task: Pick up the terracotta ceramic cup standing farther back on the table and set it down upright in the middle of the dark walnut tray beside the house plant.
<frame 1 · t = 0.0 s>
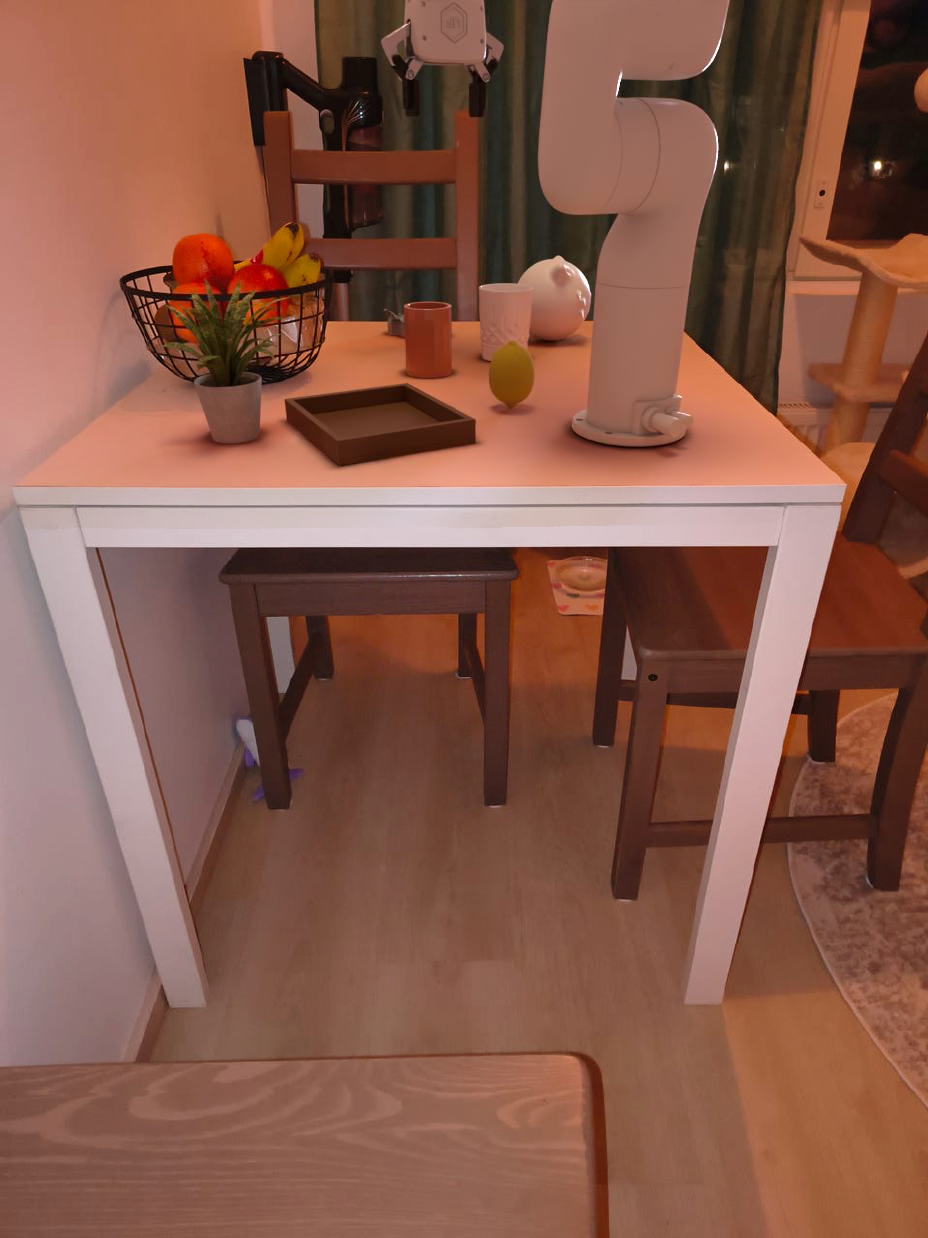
hand: (445, 116, 112), 31 cm above the table, tool pointing down, fingers open, 9 cm apart
house plant: (238, 441, 91), on the table
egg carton: (418, 335, 140), on the table
white cup: (504, 359, 125), on the table
lemon: (510, 409, 101), on the table
tray: (377, 431, 93), on the table
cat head: (548, 341, 136), on the table
cup: (429, 372, 117), on the table
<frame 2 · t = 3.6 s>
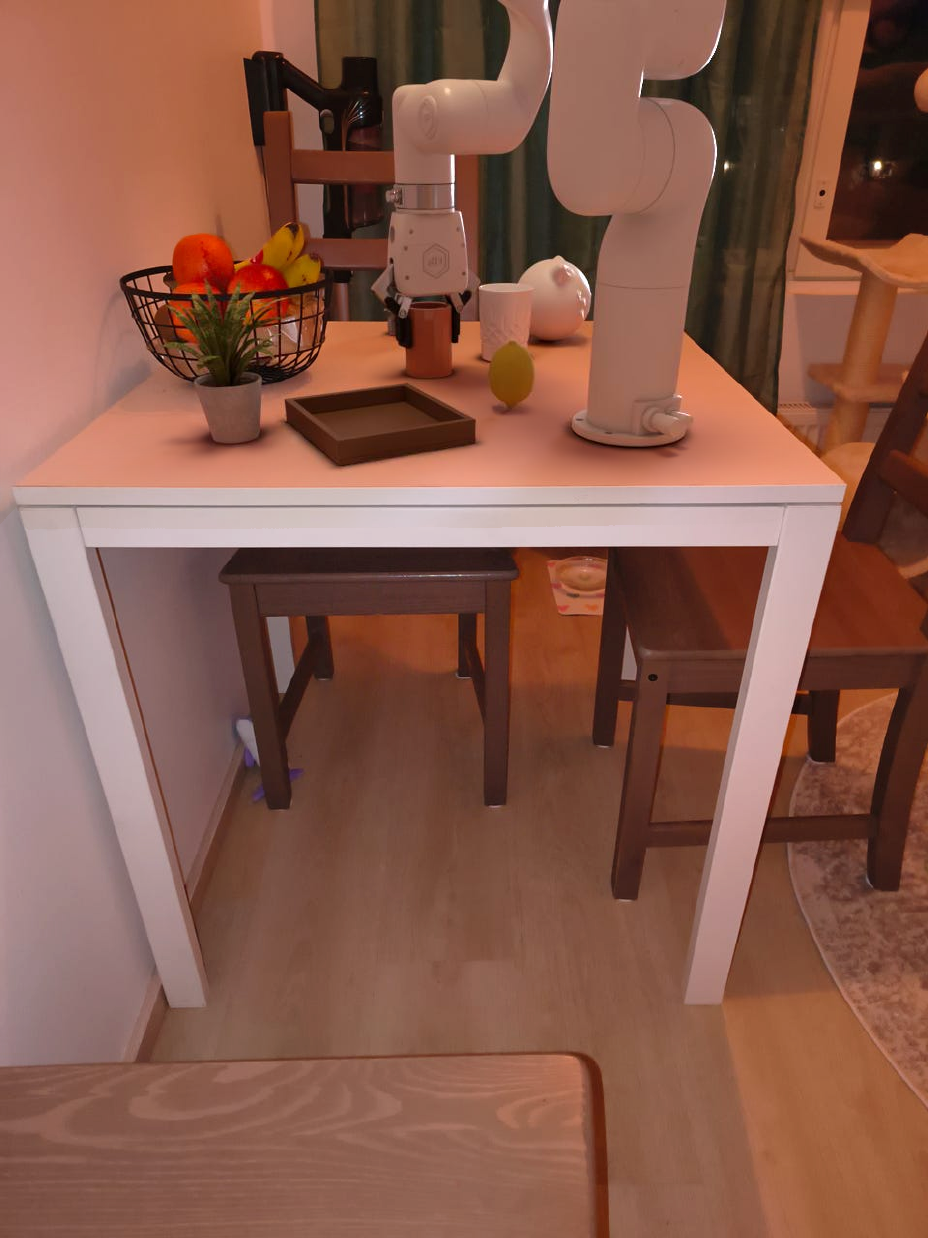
hand: (428, 342, 115), 4 cm above the table, tool pointing down, fingers closed on cup, 6 cm apart
cup: (429, 372, 117), on the table, touching gripper
everything else where it was.
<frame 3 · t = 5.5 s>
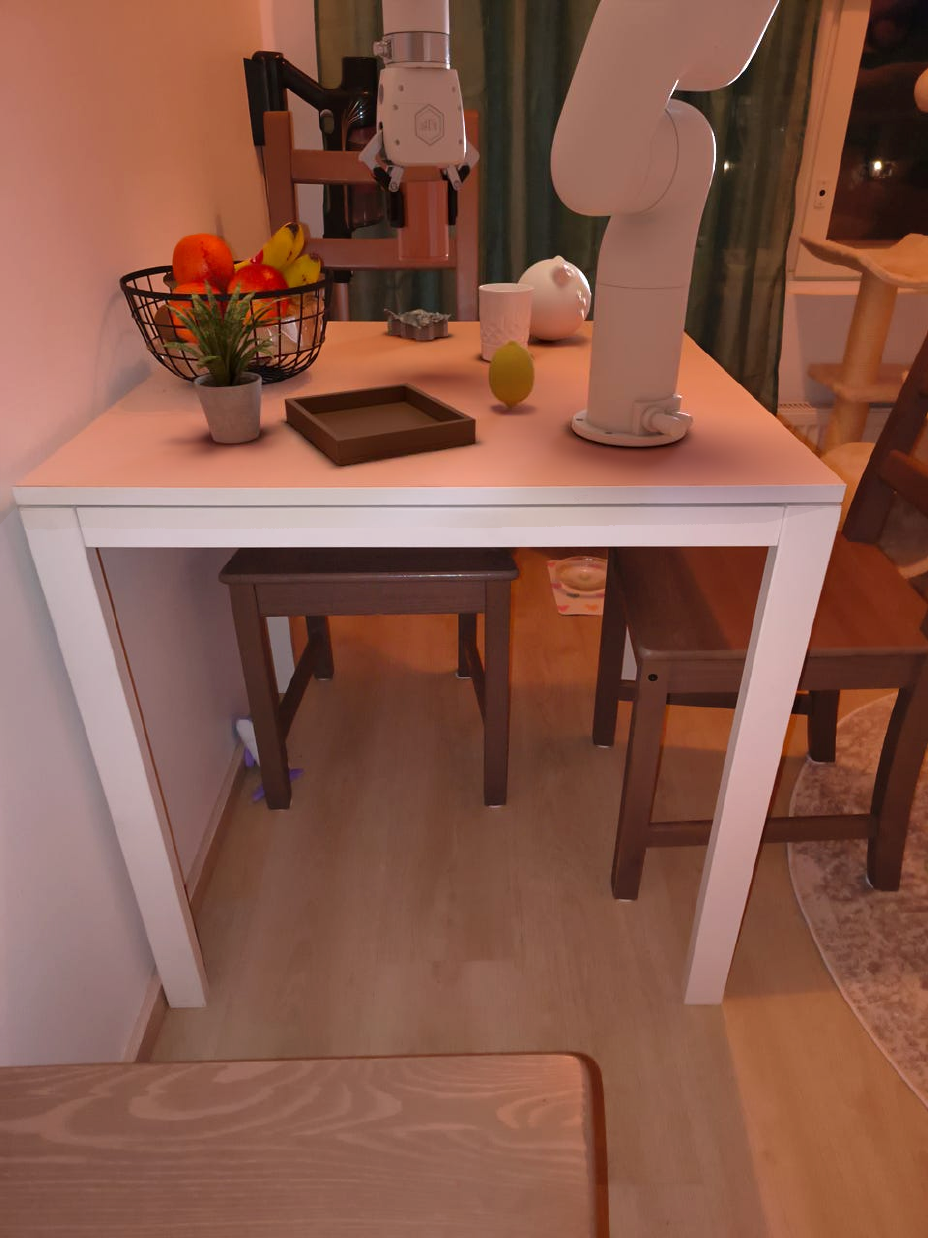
hand: (422, 224, 105), 19 cm above the table, tool pointing down, fingers closed on cup, 6 cm apart
cup: (424, 259, 107), point 15 cm above the table, touching gripper
everything else where it was.
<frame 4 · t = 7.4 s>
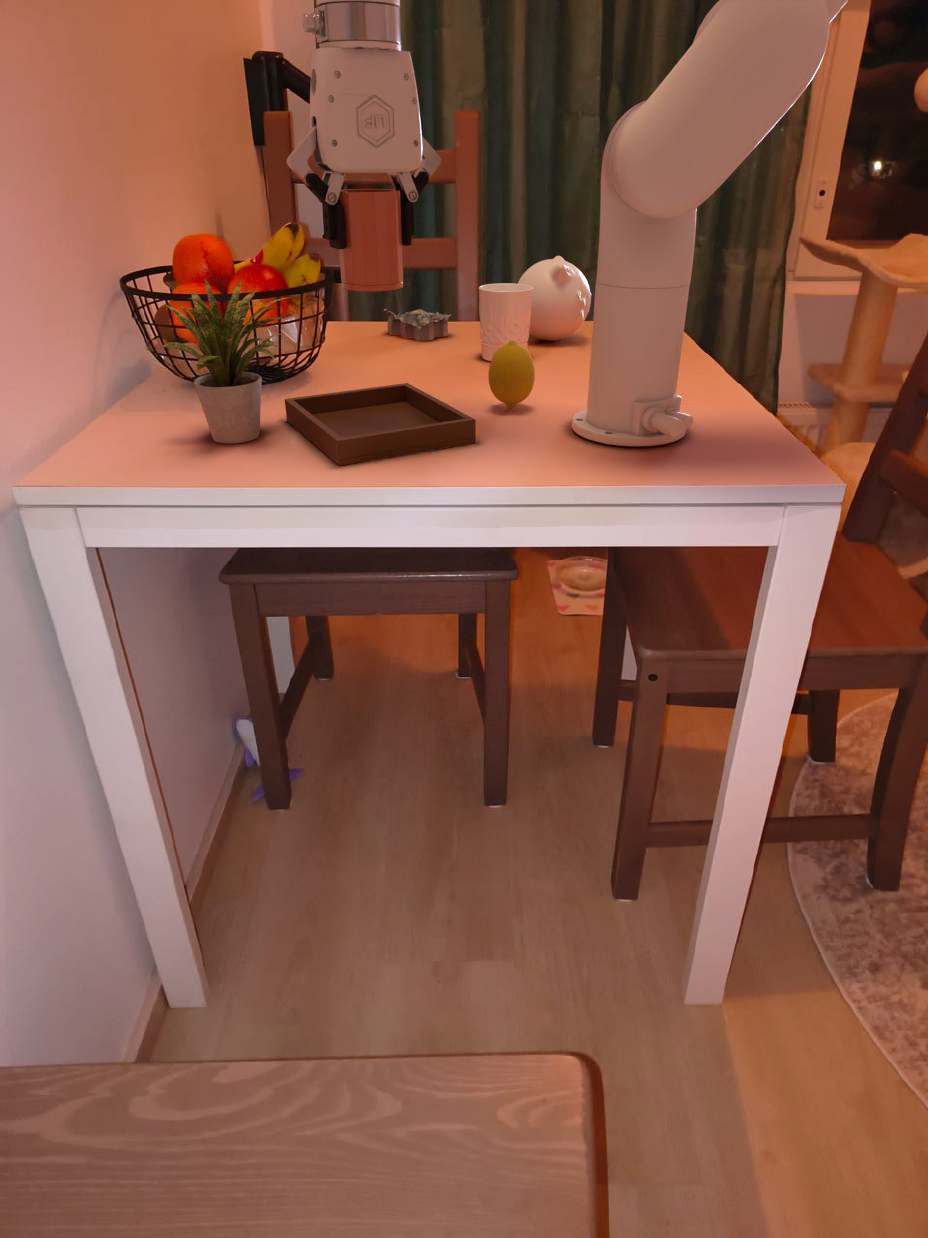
hand: (370, 244, 85), 19 cm above the table, tool pointing down, fingers closed on cup, 6 cm apart
cup: (372, 286, 87), point 15 cm above the table, touching gripper
everything else where it was.
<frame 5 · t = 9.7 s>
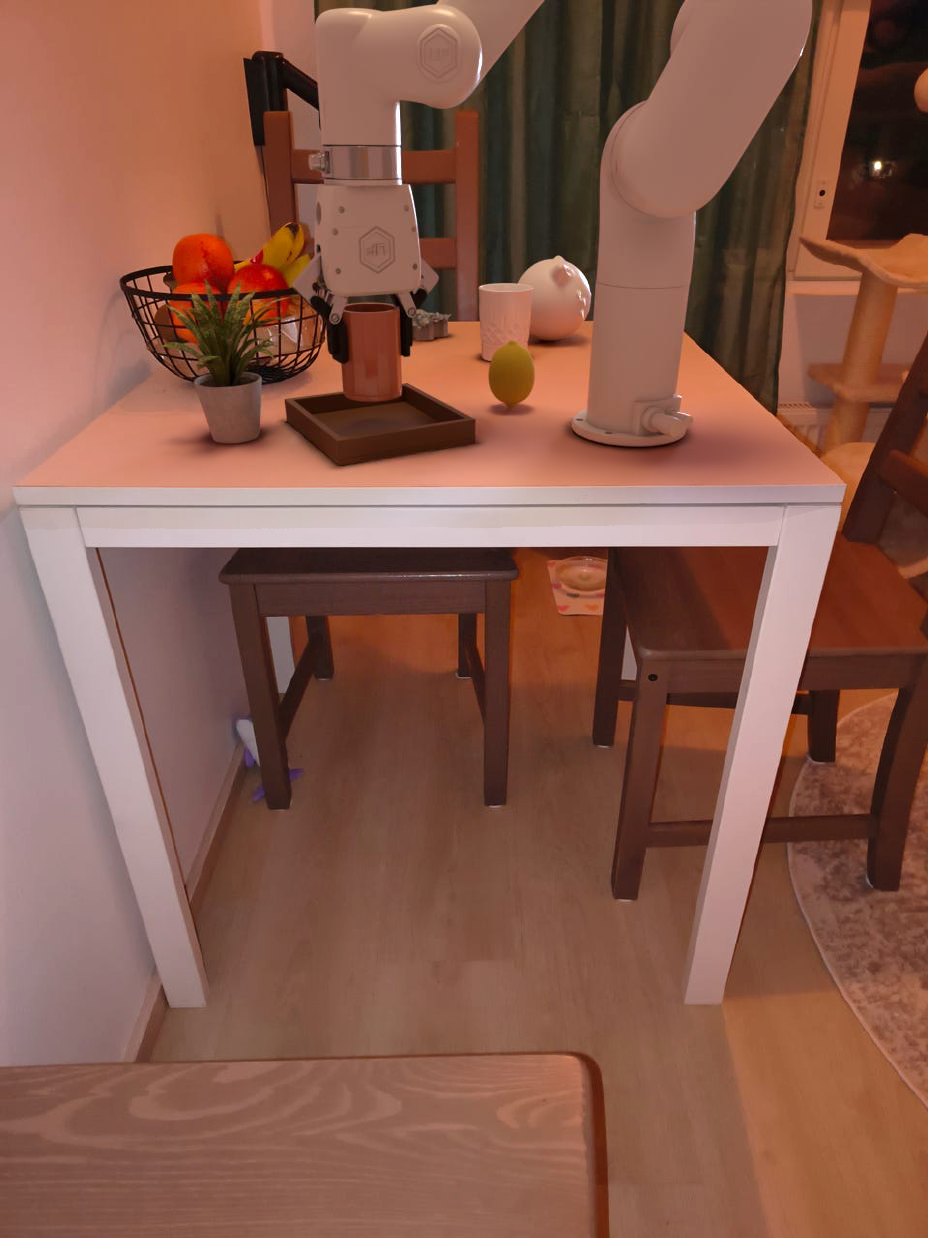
hand: (371, 356, 89), 8 cm above the table, tool pointing down, fingers closed on cup, 6 cm apart
cup: (372, 393, 91), point 4 cm above the table, touching gripper
everything else where it was.
when the fingers open (5 cm above the table, at t = 11.2 s): cup stays where it is, resting on tray.
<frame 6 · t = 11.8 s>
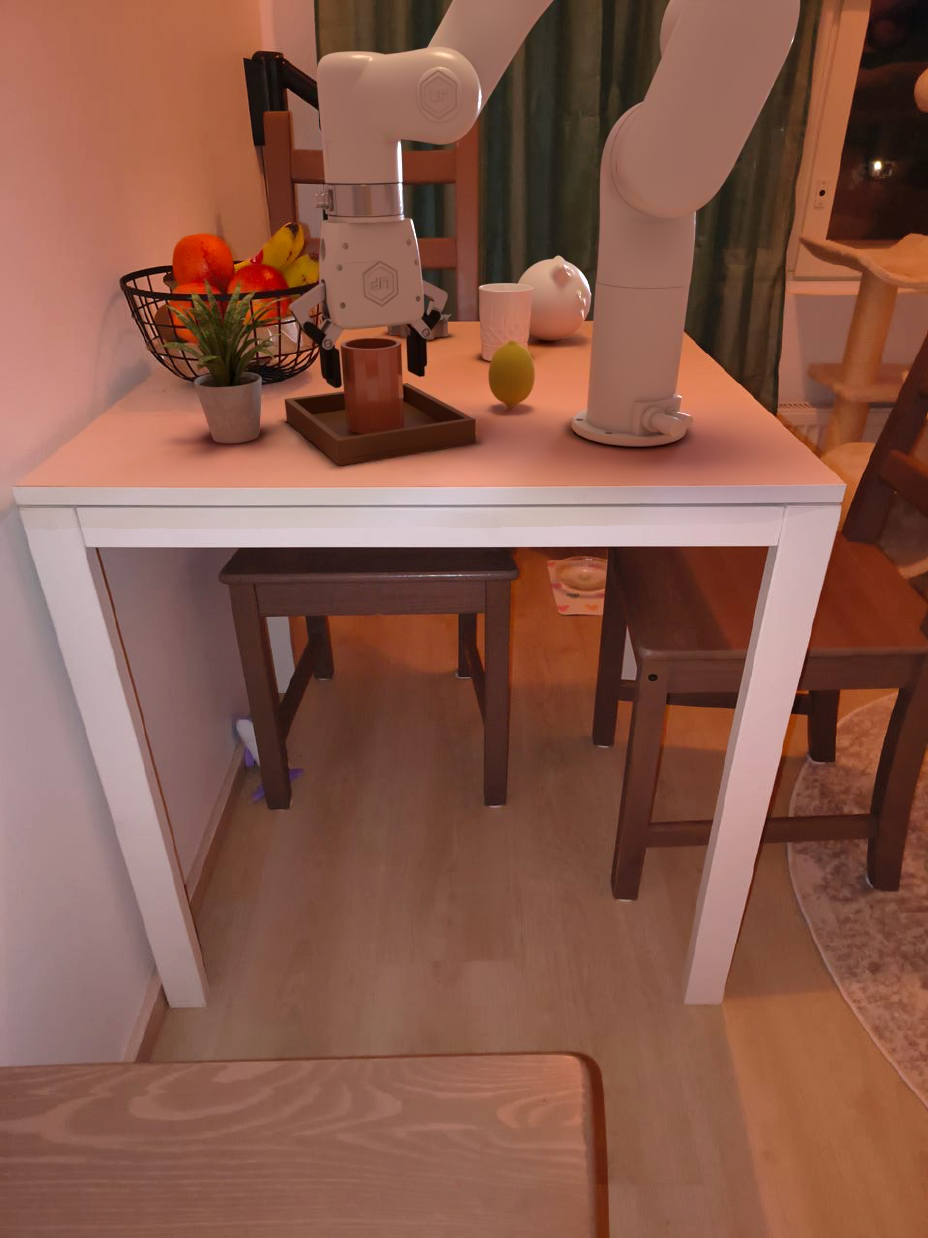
hand: (375, 379, 90), 6 cm above the table, tool pointing down, fingers open, 9 cm apart
cup: (375, 426, 93), point 1 cm above the table, touching tray
everything else where it was.
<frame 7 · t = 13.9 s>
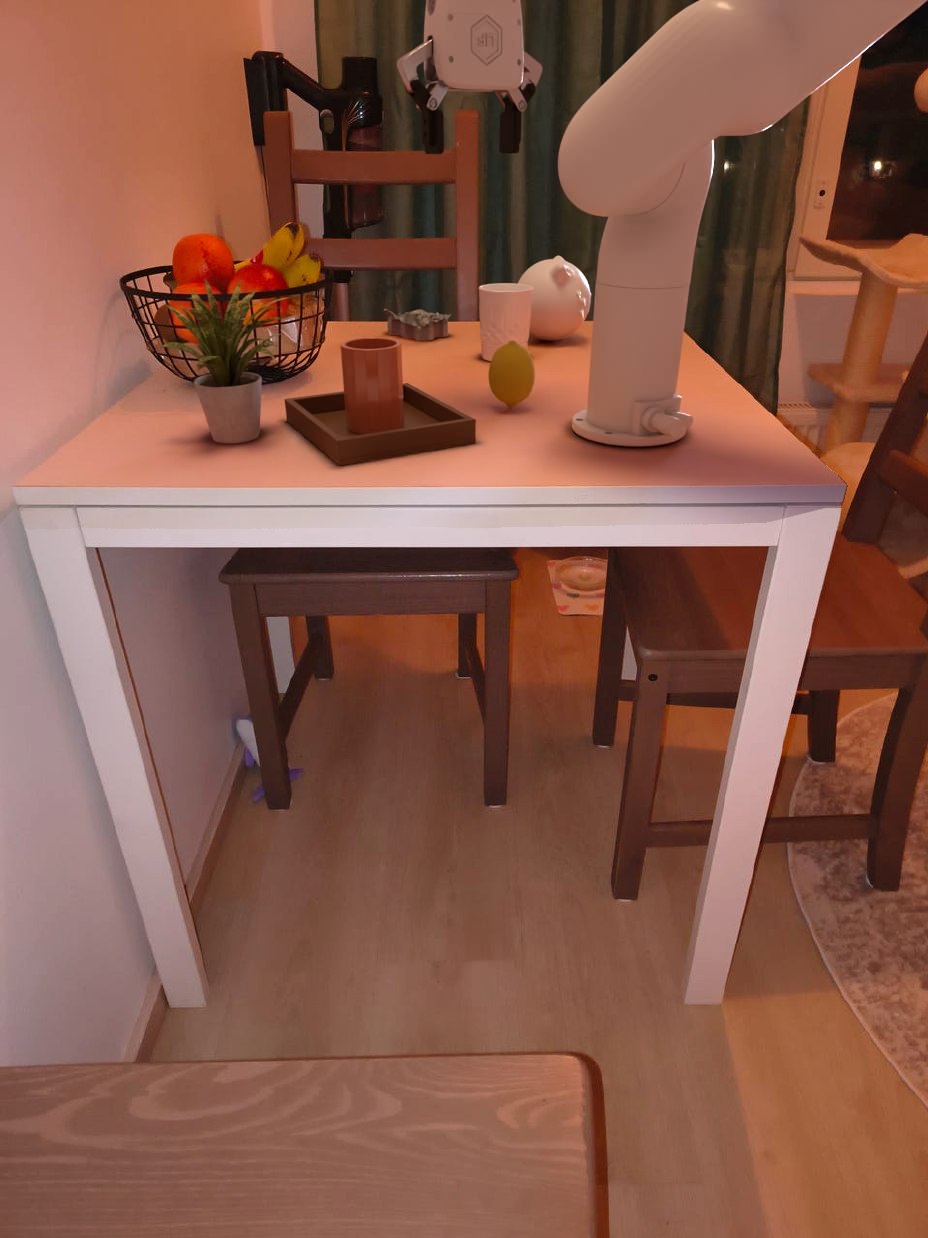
hand: (472, 153, 92), 27 cm above the table, tool pointing down, fingers open, 9 cm apart
nothing on the table moved.
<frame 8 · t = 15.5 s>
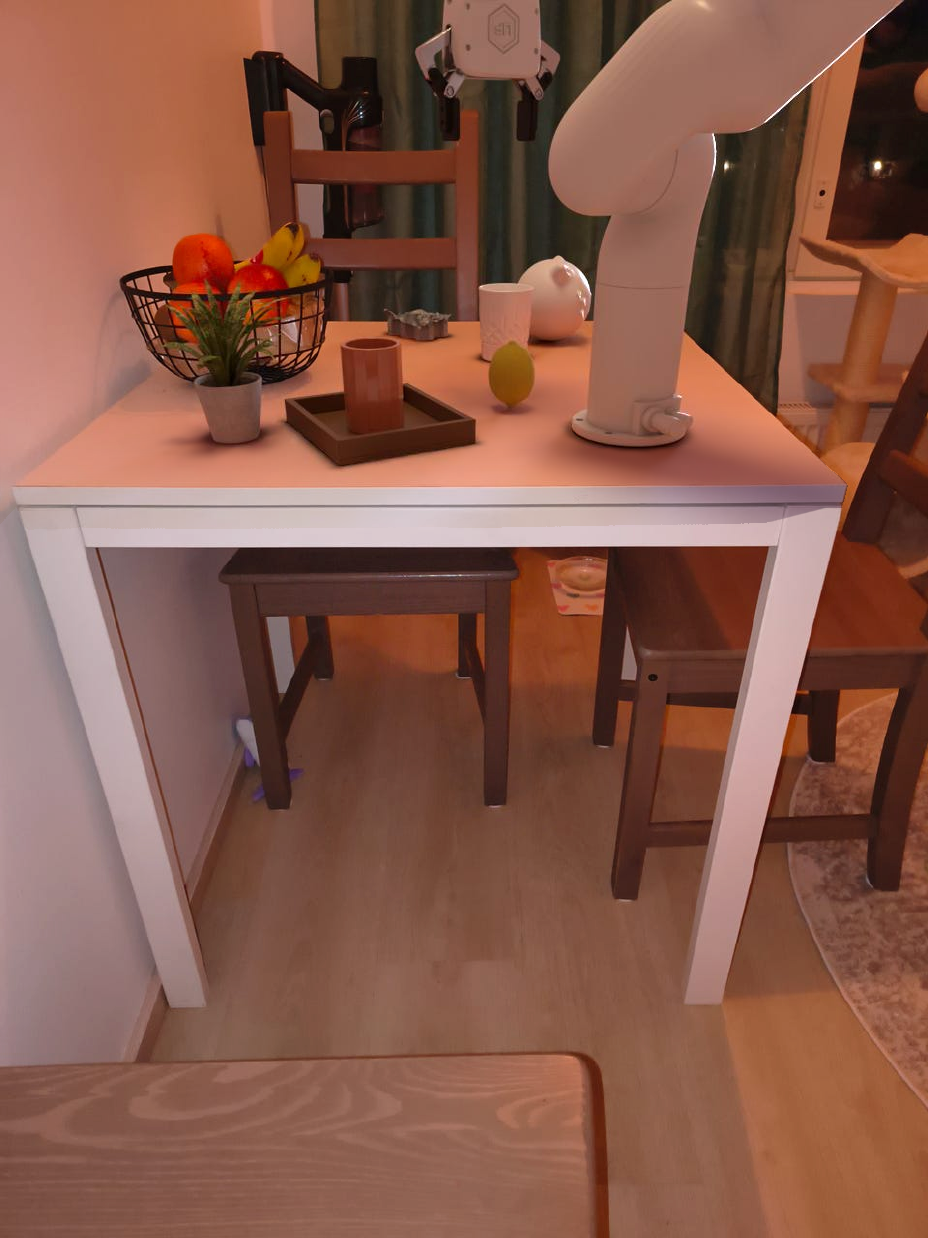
hand: (489, 140, 93), 28 cm above the table, tool pointing down, fingers open, 9 cm apart
nothing on the table moved.
at the end: cup inside the target area in the tray (0.1 cm from its centre), point 0.6 cm above the tray's base; cup tilted 0°; the gripper is holding nothing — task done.
